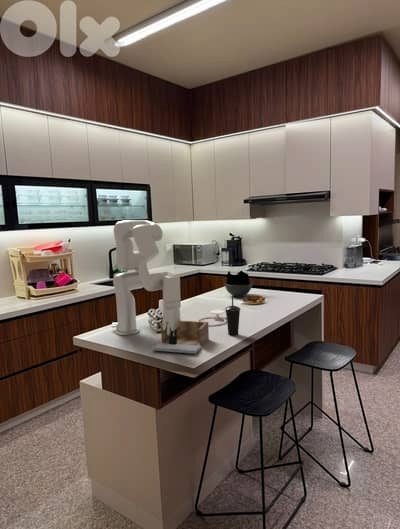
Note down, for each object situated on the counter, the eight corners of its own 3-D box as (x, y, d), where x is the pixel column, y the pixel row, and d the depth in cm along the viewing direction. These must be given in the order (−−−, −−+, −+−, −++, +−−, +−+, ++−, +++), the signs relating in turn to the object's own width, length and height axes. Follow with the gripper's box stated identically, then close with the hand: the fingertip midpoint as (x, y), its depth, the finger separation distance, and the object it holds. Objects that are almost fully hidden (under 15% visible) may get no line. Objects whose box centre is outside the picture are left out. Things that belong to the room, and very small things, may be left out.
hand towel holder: (190, 317, 205) (207, 308, 223) (191, 325, 205) (207, 315, 223) (218, 320, 197) (233, 311, 215) (218, 328, 197) (233, 318, 215)
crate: (161, 344, 174) (160, 326, 173) (170, 337, 185) (169, 319, 184) (202, 347, 168) (201, 328, 167) (208, 339, 179) (208, 321, 178)
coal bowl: (256, 294, 274) (256, 269, 272) (245, 300, 257) (244, 274, 255) (232, 292, 285) (232, 268, 282) (220, 298, 268) (219, 272, 265)
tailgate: (160, 345, 173) (152, 350, 164) (160, 342, 173) (152, 347, 164) (201, 348, 167) (195, 353, 158) (201, 345, 167) (195, 350, 158)
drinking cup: (239, 332, 189) (239, 293, 187) (241, 336, 182) (241, 297, 179) (224, 332, 189) (224, 294, 186) (226, 337, 181) (225, 297, 179)
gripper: (170, 298, 168) (171, 337, 170) (157, 307, 154) (158, 349, 156) (185, 299, 165) (186, 338, 168) (173, 308, 151) (175, 351, 154)
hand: (173, 343), depth 162 cm, fingers closed
